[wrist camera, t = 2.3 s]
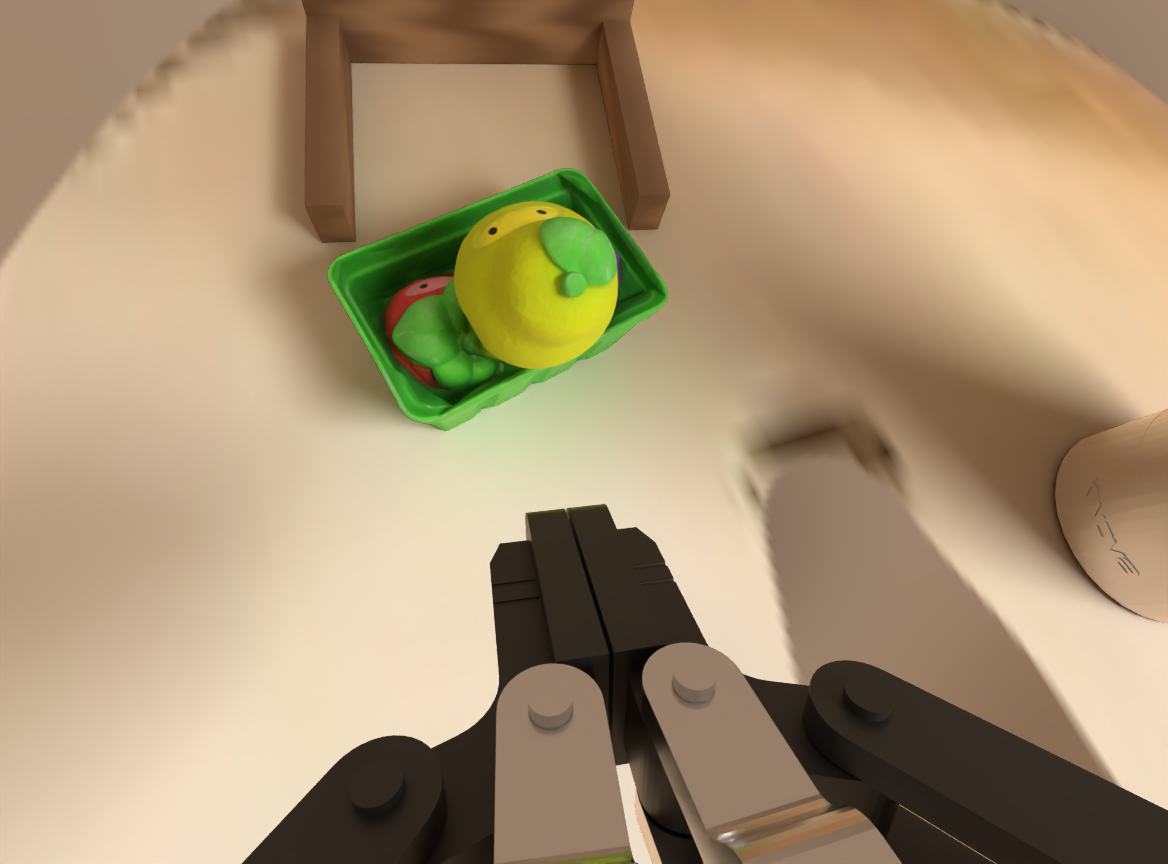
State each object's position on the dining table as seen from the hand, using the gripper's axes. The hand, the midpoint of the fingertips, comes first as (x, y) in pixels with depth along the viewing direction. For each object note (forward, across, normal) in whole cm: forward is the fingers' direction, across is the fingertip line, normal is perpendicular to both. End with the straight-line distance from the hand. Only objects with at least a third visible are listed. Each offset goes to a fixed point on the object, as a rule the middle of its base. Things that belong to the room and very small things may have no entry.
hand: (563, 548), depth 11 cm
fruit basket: (+17, 0, +2) cm, 17 cm away
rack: (+26, 0, -8) cm, 28 cm away
